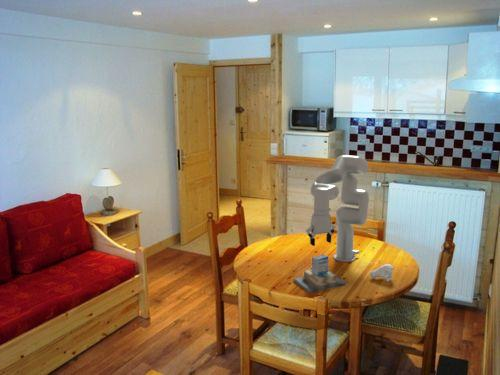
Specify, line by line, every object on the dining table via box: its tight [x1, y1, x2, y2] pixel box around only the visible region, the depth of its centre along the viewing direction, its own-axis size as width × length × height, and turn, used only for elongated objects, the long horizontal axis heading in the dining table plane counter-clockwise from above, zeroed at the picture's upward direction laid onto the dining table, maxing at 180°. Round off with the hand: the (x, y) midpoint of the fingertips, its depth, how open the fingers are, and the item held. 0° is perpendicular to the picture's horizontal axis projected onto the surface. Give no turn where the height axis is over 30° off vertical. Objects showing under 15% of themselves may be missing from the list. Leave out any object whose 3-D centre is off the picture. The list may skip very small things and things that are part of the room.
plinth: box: [293, 269, 347, 294], centre depth 240 cm, size 22×16×6 cm
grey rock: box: [369, 263, 394, 283], centre depth 244 cm, size 6×8×12 cm
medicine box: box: [311, 254, 329, 275], centre depth 239 cm, size 8×4×9 cm, turn 125°
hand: (320, 243), depth 236 cm, fingers open, 9 cm apart
